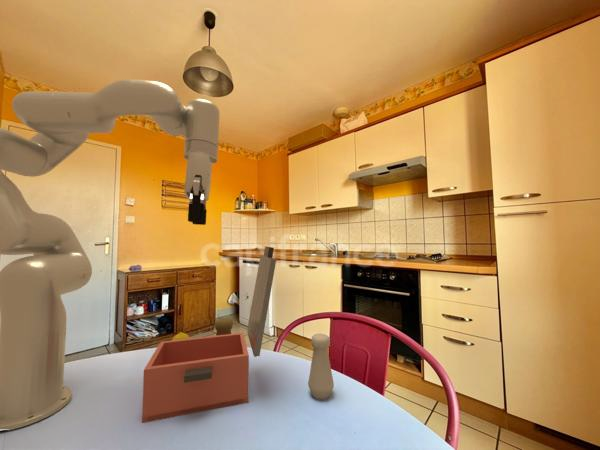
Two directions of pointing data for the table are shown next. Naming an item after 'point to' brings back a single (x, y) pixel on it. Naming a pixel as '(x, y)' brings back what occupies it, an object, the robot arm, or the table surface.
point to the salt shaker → (320, 368)
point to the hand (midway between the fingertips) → (197, 223)
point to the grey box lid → (261, 300)
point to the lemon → (180, 336)
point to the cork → (223, 326)
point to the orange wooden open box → (195, 376)
